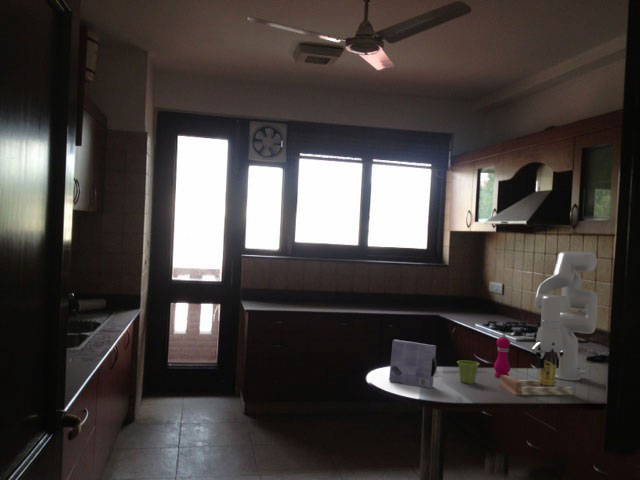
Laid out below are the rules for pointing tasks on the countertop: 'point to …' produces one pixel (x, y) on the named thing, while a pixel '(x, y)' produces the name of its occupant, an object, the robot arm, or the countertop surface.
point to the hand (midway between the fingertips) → (548, 367)
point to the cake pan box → (413, 363)
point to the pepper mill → (502, 357)
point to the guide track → (530, 387)
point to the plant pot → (467, 371)
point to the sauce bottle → (548, 369)
